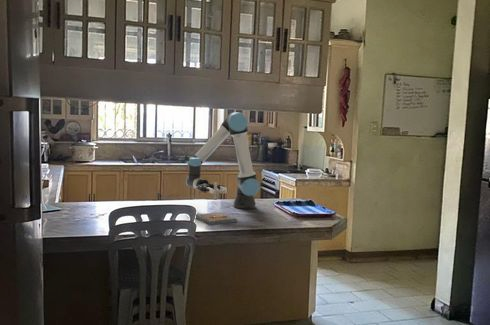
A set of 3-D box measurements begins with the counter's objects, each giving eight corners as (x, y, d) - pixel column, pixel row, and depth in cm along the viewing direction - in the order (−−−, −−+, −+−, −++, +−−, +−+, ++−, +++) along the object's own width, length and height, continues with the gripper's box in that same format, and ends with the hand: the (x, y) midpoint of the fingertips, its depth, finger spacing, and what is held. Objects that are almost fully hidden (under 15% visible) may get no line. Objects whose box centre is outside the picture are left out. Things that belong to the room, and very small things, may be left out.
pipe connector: (220, 201, 263) (221, 184, 262) (204, 200, 265) (205, 183, 264) (225, 198, 272) (226, 182, 271) (209, 197, 275) (210, 180, 273)
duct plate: (220, 215, 282) (220, 212, 282) (236, 221, 267) (236, 218, 267) (194, 217, 272) (194, 214, 272) (209, 224, 257) (209, 221, 257)
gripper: (215, 189, 289) (234, 196, 270) (185, 191, 278) (202, 198, 259) (216, 178, 288) (235, 183, 269) (185, 179, 277) (203, 185, 258)
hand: (219, 190), depth 264 cm, fingers closed on pipe connector, 8 cm apart
